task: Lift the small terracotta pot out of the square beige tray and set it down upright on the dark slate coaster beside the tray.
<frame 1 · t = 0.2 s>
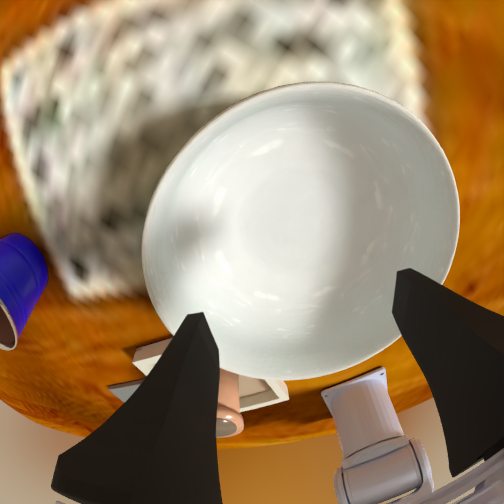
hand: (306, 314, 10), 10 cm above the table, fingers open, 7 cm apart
square beige tray: (215, 371, 26), on the table
hyacinth: (29, 268, 20), on the table
coaster: (153, 399, 29), on the table
pot: (214, 400, 23), in the square beige tray
cereal bowl: (295, 216, 19), on the table
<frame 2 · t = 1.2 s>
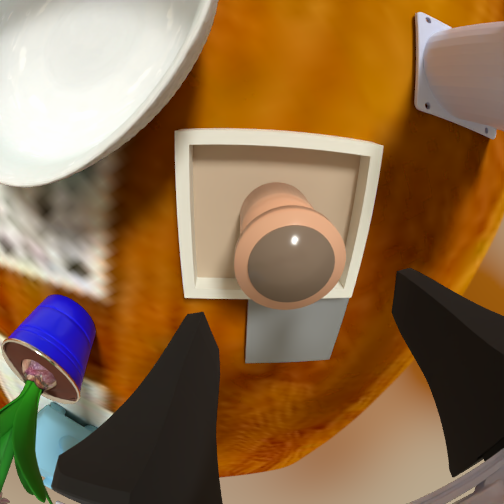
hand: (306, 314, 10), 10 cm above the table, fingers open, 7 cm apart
square beige tray: (274, 214, 18), on the table
teakettle: (71, 420, 34), on the table
hyacinth: (74, 319, 22), on the table
coaster: (293, 327, 23), on the table
pot: (282, 237, 15), in the square beige tray
cereal bowl: (98, 39, 12), on the table
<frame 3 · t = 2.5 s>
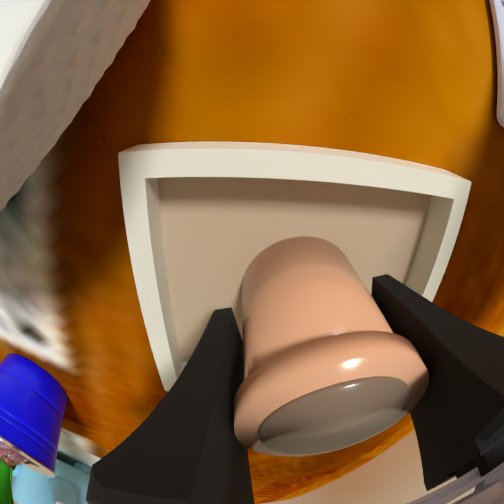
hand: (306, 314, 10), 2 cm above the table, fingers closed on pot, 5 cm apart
square beige tray: (296, 282, 12), on the table
teakettle: (60, 455, 27), on the table
hyacinth: (41, 379, 16), on the table
pot: (315, 343, 8), in the square beige tray, touching gripper
cereal bowl: (27, 16, 5), on the table
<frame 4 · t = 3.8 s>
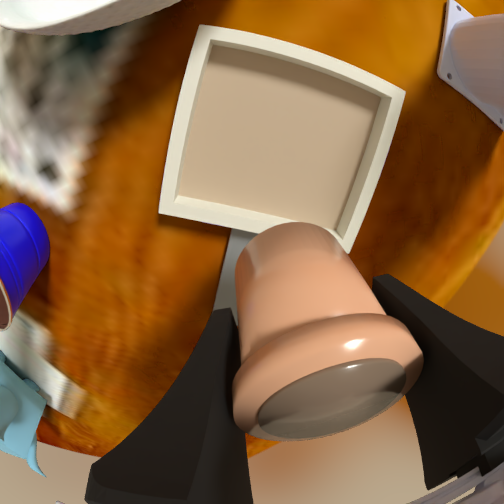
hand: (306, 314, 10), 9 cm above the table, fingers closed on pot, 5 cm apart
square beige tray: (280, 138, 16), on the table
teakettle: (11, 370, 28), on the table
hyacinth: (30, 236, 18), on the table
coaster: (274, 284, 21), on the table
pot: (310, 327, 9), point 10 cm above the table, touching gripper
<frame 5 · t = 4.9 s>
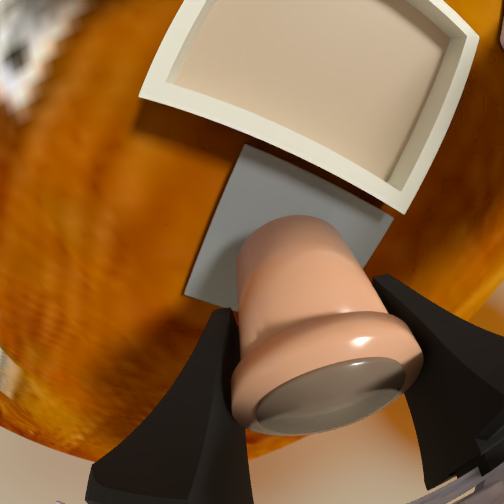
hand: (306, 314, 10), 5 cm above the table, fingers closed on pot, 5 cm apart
square beige tray: (332, 42, 9), on the table
coaster: (287, 251, 14), on the table
pot: (310, 322, 9), point 6 cm above the table, touching gripper
when the fingers open (4 cm above the table, at t = 5.6 s): pot drops 1 cm, resting on coaster.
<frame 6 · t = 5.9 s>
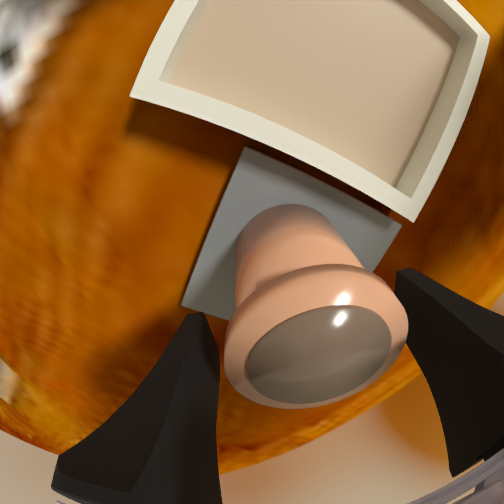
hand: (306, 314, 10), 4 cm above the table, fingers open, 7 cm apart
square beige tray: (338, 38, 8), on the table
coaster: (289, 260, 13), on the table
pot: (302, 296, 10), on the coaster, point 4 cm above the table
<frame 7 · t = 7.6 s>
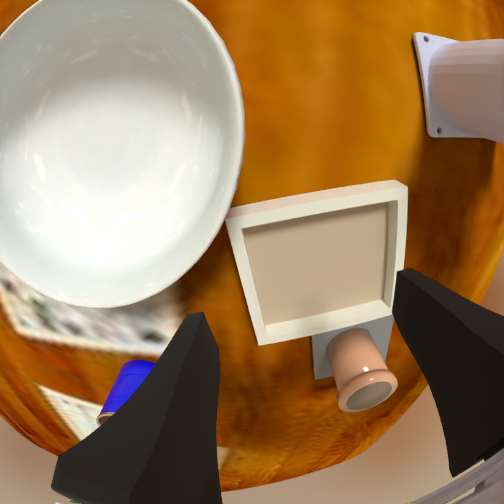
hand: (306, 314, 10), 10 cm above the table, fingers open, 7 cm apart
square beige tray: (323, 262, 20), on the table
hyacinth: (154, 375, 27), on the table
coaster: (351, 343, 25), on the table
pot: (359, 369, 22), on the coaster, point 4 cm above the table
cereal bowl: (113, 132, 15), on the table
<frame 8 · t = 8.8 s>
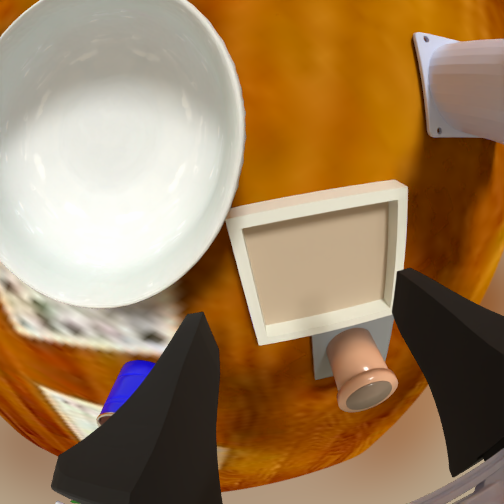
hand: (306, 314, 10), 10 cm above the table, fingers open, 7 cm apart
square beige tray: (323, 262, 20), on the table
hyacinth: (154, 376, 27), on the table
coaster: (351, 343, 25), on the table
pot: (359, 369, 22), on the coaster, point 4 cm above the table
cereal bowl: (113, 132, 15), on the table
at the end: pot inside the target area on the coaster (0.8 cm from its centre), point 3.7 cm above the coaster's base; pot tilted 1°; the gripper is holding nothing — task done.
